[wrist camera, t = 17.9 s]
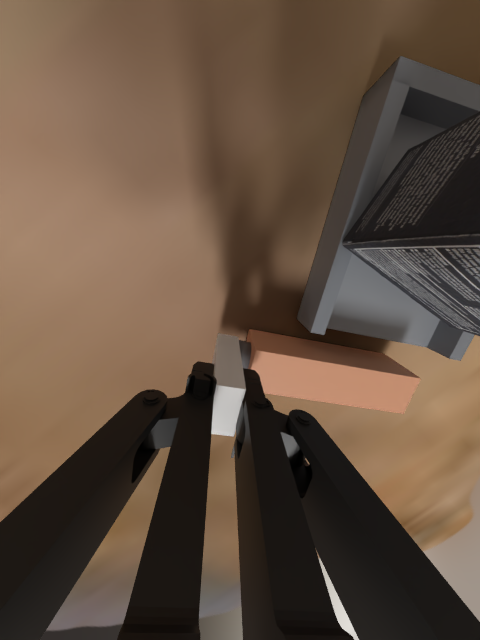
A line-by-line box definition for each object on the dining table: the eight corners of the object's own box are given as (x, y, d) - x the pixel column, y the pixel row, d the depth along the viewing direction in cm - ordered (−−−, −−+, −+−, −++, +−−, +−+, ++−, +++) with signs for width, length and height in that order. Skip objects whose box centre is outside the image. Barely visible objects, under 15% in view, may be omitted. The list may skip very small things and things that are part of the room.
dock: (277, 381, 20) (286, 405, 17) (363, 95, 15) (400, 55, 12) (397, 400, 22) (425, 425, 19) (519, 148, 16) (588, 125, 13)
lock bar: (229, 360, 19) (230, 388, 15) (237, 326, 18) (240, 347, 15) (370, 383, 21) (403, 413, 17) (383, 353, 20) (421, 378, 16)
